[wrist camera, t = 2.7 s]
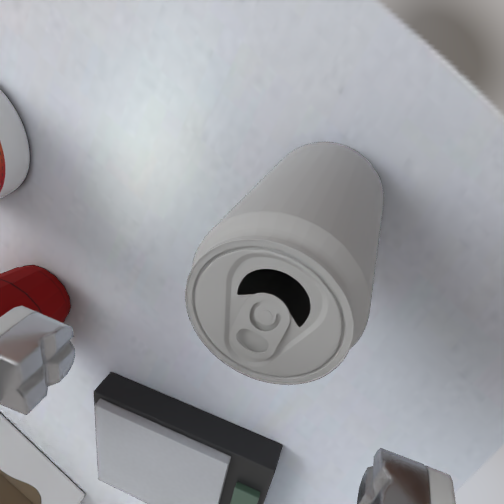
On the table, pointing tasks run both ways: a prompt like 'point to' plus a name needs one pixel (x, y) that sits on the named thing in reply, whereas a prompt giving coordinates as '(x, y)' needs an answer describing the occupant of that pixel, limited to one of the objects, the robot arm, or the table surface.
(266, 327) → the beverage can
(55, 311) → the plastic cup
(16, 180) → the fruit juice
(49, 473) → the gable box
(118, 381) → the kitchen scale
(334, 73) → the table surface
